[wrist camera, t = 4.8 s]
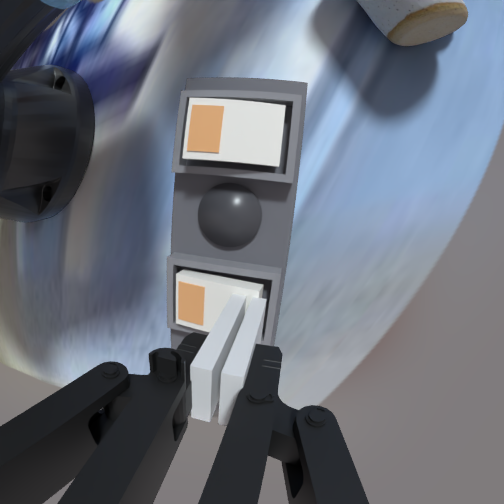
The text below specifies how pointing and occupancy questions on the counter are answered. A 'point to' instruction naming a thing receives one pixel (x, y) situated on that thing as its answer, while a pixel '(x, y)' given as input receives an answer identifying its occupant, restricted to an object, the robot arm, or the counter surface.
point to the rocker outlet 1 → (234, 131)
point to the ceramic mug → (415, 19)
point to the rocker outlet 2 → (208, 297)
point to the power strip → (236, 203)
